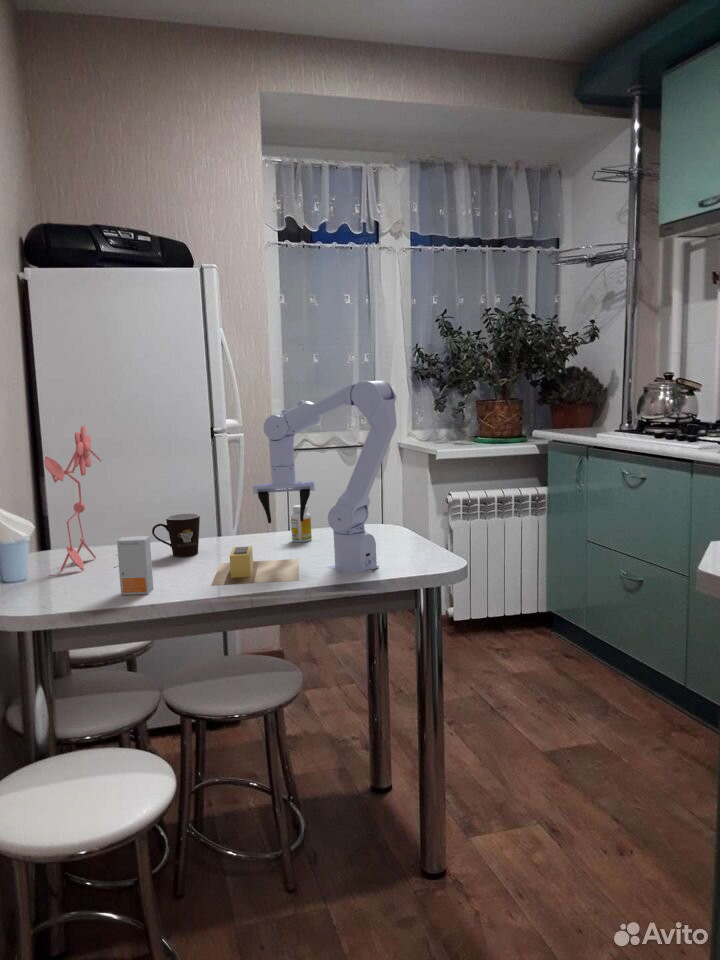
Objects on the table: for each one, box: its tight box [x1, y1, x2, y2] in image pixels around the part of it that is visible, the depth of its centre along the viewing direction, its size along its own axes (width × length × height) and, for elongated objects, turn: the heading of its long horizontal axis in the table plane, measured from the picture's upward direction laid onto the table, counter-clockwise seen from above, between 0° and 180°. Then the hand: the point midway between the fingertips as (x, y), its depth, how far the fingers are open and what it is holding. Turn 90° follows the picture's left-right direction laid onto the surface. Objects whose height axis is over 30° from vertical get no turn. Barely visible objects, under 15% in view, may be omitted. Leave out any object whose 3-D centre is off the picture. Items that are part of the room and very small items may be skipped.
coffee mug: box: [151, 513, 201, 558], centre depth 197 cm, size 12×9×10 cm
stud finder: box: [229, 545, 254, 578], centre depth 174 cm, size 4×9×5 cm, turn 4°
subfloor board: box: [210, 558, 300, 586], centre depth 174 cm, size 19×20×1 cm
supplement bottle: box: [290, 504, 312, 543], centre depth 208 cm, size 5×5×10 cm
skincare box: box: [116, 535, 154, 596], centre depth 162 cm, size 6×4×12 cm
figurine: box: [44, 425, 119, 577], centre depth 187 cm, size 15×26×35 cm, turn 2°
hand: (285, 521), depth 182 cm, fingers open, 7 cm apart
